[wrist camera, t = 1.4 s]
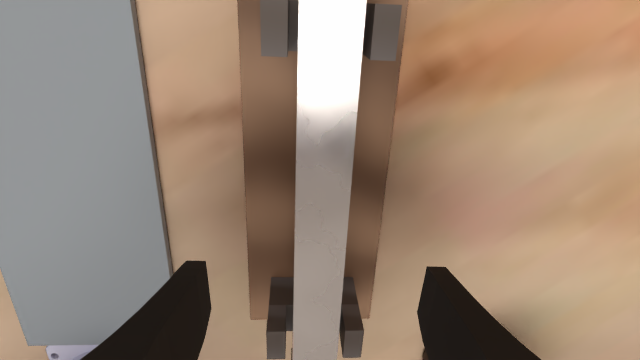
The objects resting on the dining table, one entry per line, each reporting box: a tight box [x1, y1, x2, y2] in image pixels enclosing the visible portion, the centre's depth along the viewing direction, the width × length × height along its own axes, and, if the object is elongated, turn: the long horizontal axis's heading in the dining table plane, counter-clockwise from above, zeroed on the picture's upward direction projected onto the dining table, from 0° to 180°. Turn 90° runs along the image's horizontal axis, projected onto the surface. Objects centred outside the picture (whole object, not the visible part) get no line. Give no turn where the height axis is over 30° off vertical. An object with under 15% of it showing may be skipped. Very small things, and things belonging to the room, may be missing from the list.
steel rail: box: [291, 0, 367, 360], centre depth 19 cm, size 23×2×2 cm, turn 178°
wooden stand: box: [237, 0, 408, 359], centre depth 21 cm, size 21×8×6 cm, turn 178°
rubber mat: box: [0, 0, 173, 346], centre depth 22 cm, size 26×10×1 cm, turn 178°
